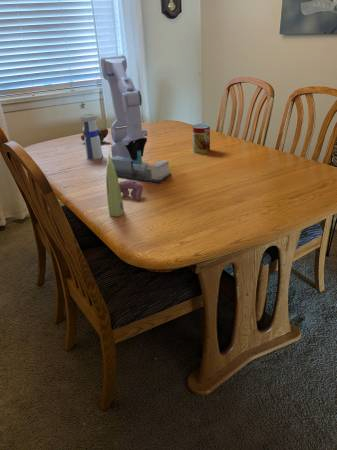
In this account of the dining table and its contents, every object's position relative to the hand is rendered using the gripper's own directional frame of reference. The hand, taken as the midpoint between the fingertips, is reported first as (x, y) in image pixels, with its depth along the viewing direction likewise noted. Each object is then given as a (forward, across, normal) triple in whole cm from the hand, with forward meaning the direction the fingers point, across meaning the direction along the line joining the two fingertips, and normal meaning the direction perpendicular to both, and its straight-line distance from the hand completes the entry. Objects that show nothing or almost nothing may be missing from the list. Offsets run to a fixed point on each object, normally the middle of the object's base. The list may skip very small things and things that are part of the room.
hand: (137, 157), depth 151 cm
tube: (+8, -32, -13) cm, 35 cm away
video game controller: (+8, -20, -9) cm, 23 cm away
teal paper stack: (+5, 0, +4) cm, 6 cm away
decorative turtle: (+8, +31, +49) cm, 58 cm away
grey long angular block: (+7, 0, 0) cm, 7 cm away
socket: (+7, 0, -10) cm, 13 cm away
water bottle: (+8, +12, +34) cm, 37 cm away
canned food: (+8, +38, -10) cm, 40 cm away
